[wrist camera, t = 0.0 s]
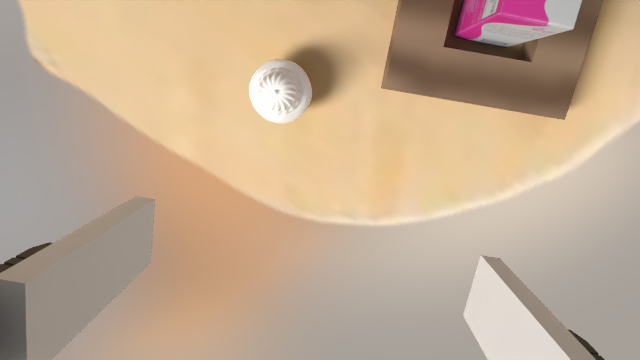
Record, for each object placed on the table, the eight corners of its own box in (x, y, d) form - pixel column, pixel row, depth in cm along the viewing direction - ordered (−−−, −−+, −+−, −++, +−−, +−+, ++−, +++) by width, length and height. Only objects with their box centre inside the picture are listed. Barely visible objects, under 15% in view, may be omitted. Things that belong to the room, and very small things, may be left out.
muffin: (253, 116, 42) (238, 122, 35) (258, 57, 41) (243, 52, 34) (310, 123, 42) (305, 131, 35) (317, 65, 41) (314, 61, 34)
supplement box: (525, -14, 38) (604, -54, 27) (506, 48, 40) (574, 35, 28) (468, -26, 38) (523, -71, 27) (451, 37, 39) (497, 18, 28)
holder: (419, -106, 36) (427, -122, 34) (607, -73, 37) (630, -86, 34) (381, 88, 41) (384, 88, 38) (548, 117, 41) (564, 119, 38)
